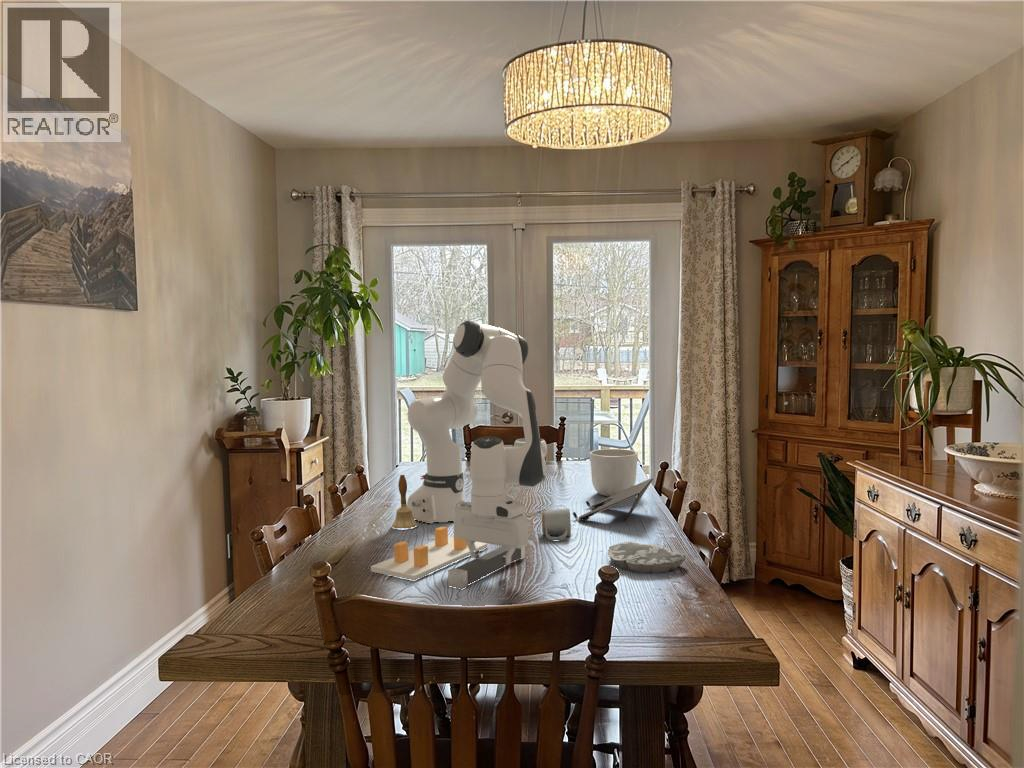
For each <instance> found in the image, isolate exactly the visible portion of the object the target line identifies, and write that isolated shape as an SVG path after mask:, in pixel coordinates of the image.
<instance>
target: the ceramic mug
mask: <svg viewBox="0 0 1024 768" xmlns="http://www.w3.org/2000/svg"><path fill="white" fill-rule="evenodd" d="M570 511H571V510H570V508H558V509H557V508H556V509H547V510H544V511H542V513H541V528H542V534H543V535H545V537H546V538H547V539H548V540H549V539H550V540H549V541H551V540H561V541H564V539H566V537H571V536H572V535H571V534H572V525H571V512H570ZM549 535H557V536H549Z"/></svg>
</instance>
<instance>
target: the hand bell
mask: <svg viewBox="0 0 1024 768" xmlns="http://www.w3.org/2000/svg"><path fill="white" fill-rule="evenodd" d="M398 479H399V480H398V491H399V495H400V507H399V508H398V509H396V515H395V519H394V521H393V523H392V524H391V525H392V527H394V528H411V527H415V526H417V525H418V526H419V524H418V522H417V521H415V520H414V519H413V516H412V511H411V509H410V508H408V507H407V491H408V483H407V482H408V481H407V480H406V477H405V474H400V475H399V478H398Z"/></svg>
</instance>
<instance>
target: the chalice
mask: <svg viewBox="0 0 1024 768" xmlns="http://www.w3.org/2000/svg"><path fill="white" fill-rule="evenodd" d="M540 440H541V447H542V451H543V454H544V457H545V458H546V456H547V454H548V445H547V442H546V440H545V439H544V438H540ZM524 444H525V437H523V438H518V439H516V440H515V441H514V444H513V447H521V446H523V445H524ZM545 477H546V474H545Z"/></svg>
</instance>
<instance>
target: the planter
mask: <svg viewBox="0 0 1024 768" xmlns="http://www.w3.org/2000/svg"><path fill="white" fill-rule="evenodd" d="M638 455H639V454H638V452H637V451H636V450H632V449H625V448H603V449H602V448H601V449H599V448H598V449H594V450H591V451H590V452H589V463H590V473H591V484H592V486H593V488H594V490H595V491H596V493H598V494H600V495H601V496H605V497H608V496H612V495H614V494H617V493H619V492H621V491H623V490H626V489H628V488H630V487H632V486H635V485H636V481H637V470H638Z"/></svg>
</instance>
